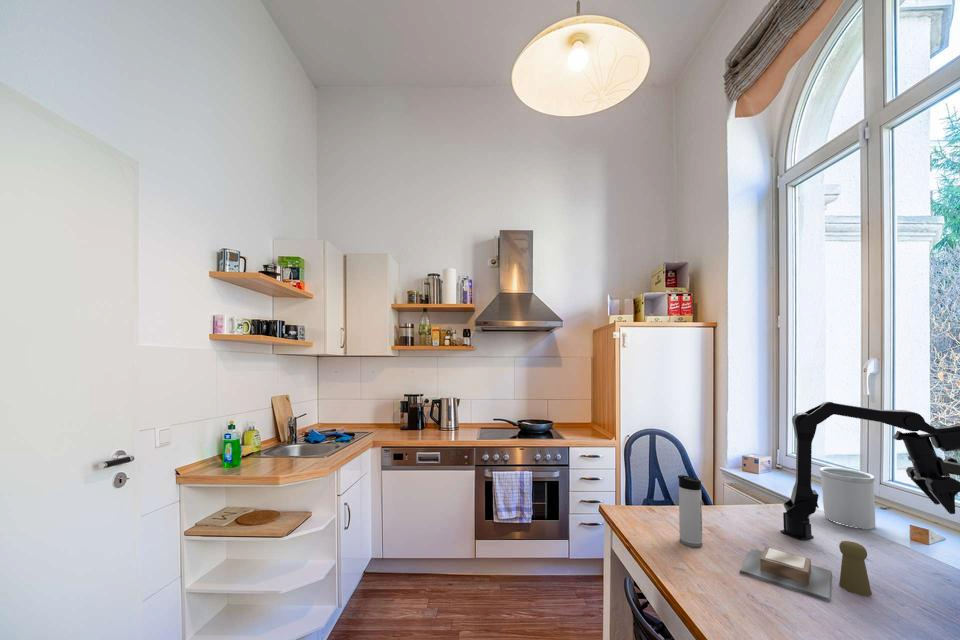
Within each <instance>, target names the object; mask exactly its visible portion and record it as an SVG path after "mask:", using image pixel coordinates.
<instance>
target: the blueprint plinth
mask: <svg viewBox="0 0 960 640" xmlns="http://www.w3.org/2000/svg"><path fill="white" fill-rule="evenodd" d="M739 573H740V575H743V576H747V577H750V578H754V579H756V580H760V581H763V582H766V583H770V584H773V585H775V586H779V587H782V588H784V589H785V588H786V589H788V590H791V591H794V592H797V593H801V594H804V595H807V596H810V597H813V598H816V599H818V600H819V599H820V600H822V601H826V602H827V603H829V602H831V586H832V584H831V583H832V570H831V569H827V568H824V567H820V566H816V565H812V559H811V558H809V557H806V556H802V555H799V554H794V553H791V552H787V551H784V550H780V549H776V548H773V547H769V546H765V547H764V549H763V551H762V550H759V549H756V548H753V547H752V548H750V551H749V552H748V554H747V556H746V558H745V560H744V562H743V564H742V566H741V568H740V569H739Z"/></svg>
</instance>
